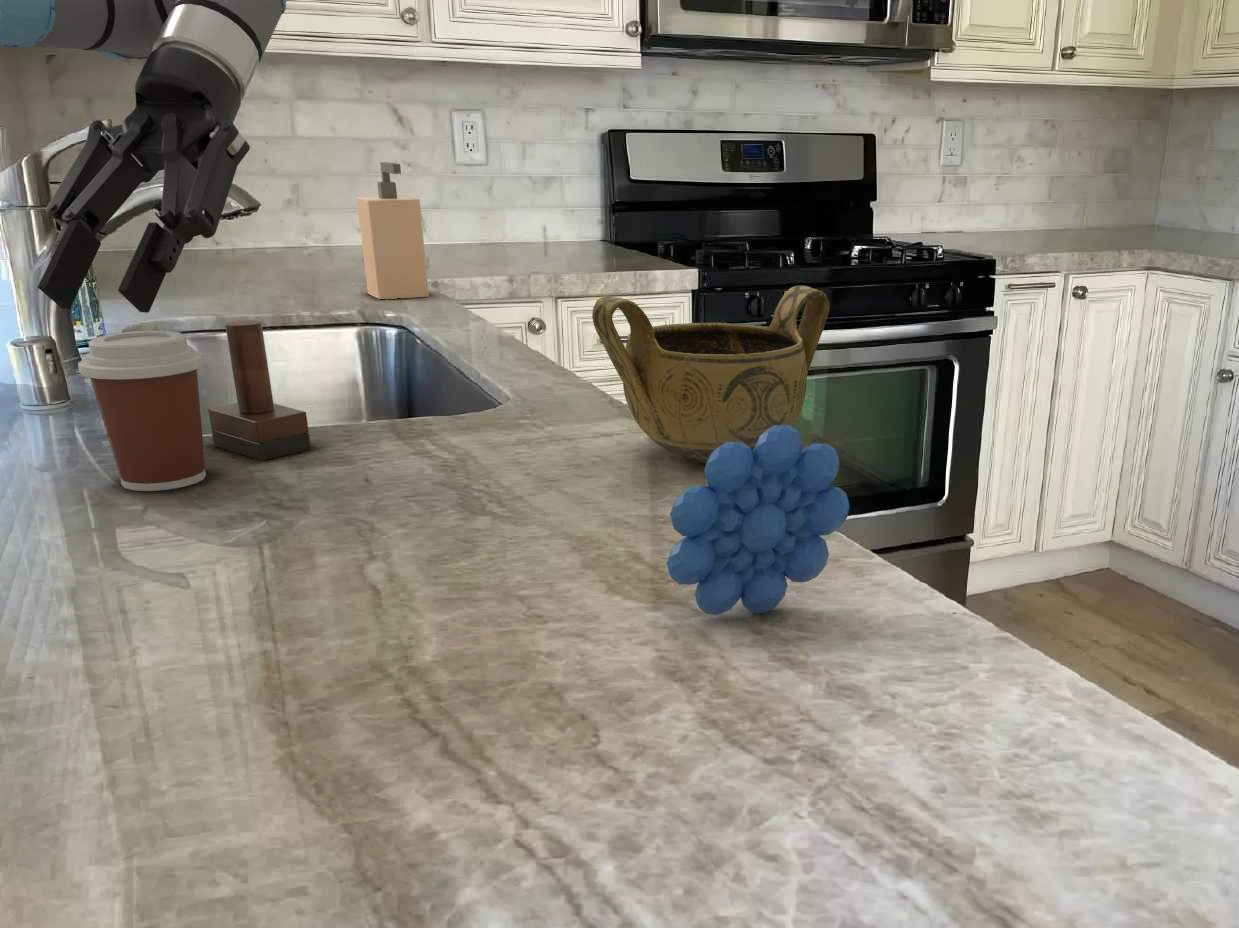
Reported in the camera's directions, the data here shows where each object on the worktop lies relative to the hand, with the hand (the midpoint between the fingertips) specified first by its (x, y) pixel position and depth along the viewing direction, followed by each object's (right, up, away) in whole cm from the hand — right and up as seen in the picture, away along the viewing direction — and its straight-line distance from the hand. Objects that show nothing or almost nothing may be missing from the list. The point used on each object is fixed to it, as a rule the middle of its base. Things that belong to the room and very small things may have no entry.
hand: (93, 299), depth 87 cm
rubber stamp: (+5, -10, +18) cm, 21 cm away
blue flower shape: (+51, -23, -15) cm, 58 cm away
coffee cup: (+1, -13, +9) cm, 16 cm away
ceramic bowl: (+47, -10, +18) cm, 52 cm away
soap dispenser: (-10, +26, +109) cm, 113 cm away
